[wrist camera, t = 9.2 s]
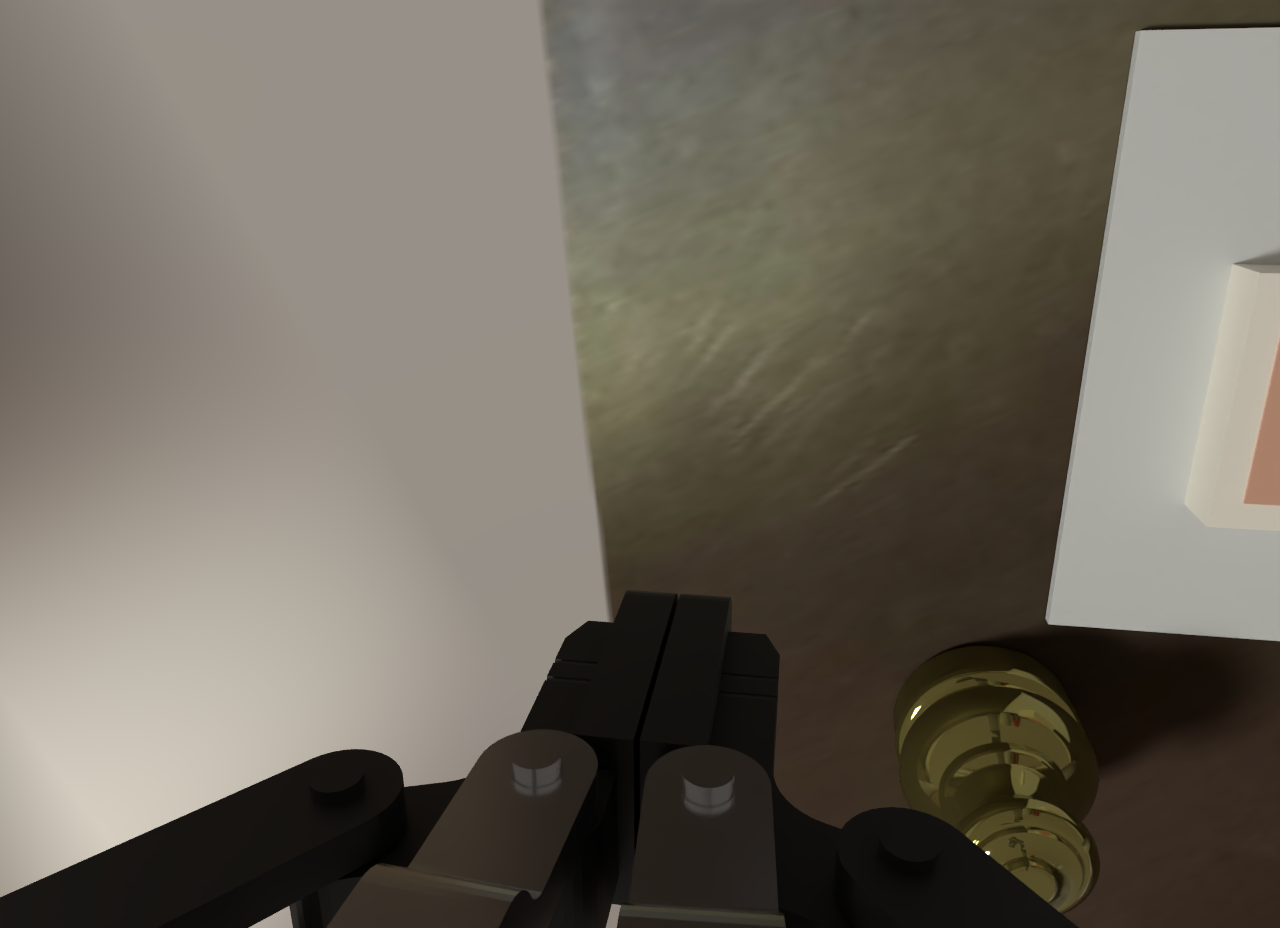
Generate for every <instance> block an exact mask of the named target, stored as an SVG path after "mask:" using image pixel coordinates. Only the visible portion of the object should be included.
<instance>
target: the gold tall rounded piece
mask: <svg viewBox="0 0 1280 928" xmlns="http://www.w3.org/2000/svg"><path fill="white" fill-rule="evenodd" d="M894 728H895V749H896V755H897V759H898V762H899V777H900V783H901V788H902V792H903V795H904V797H905V800H906V802H907V803H908V805H909V807H910V809H912V810H917V811H921V812H924V813H927V814H930V815H932V816H935V817H937V818H940V819H941V820H943V821H945V822H947V823H949V824H950V825H952V826H953V827H955V828H956V829H957V830H959V831H960V832H961V833H963V834H964V835H965V836H966V837H967V838H969V839H970V840H971V841H972V842H974V843H975V844H976V845H977V846H979V847H980V848H981V849H982V850H984V851H985V852H986V853H987V854H988V855H990V856H991V857H992V858H993V859H995V860H996V861H997V862H998V863H1000V864H1001V865H1002V866H1003V867H1004V868H1006V869H1007V870H1008V871H1009V872H1011V873H1012V874H1013V875H1014V876H1016V877H1017V878H1018V879H1019V880H1020V881H1022V882H1023V883H1024V884H1025V885H1027V886H1028V887H1029V888H1030V889H1032V890H1033V891H1034V892H1035V893H1036V894H1038V895H1039V896H1040V897H1041V898H1043V899H1044V900H1045V901H1046V902H1048V903H1049V904H1050V905H1051V906H1053V907H1054V908H1055V909H1056V910H1057V911H1059V912H1060V913H1061V914H1065V913H1067V912H1069V911H1070V910H1072V909H1074V908H1075V907H1077V906H1078V905H1079V904H1081V903H1082V902H1083V901H1084V900H1085V899H1086V898H1087V897H1088V896H1089V894H1090V893H1091V892H1092V890H1093V888H1094V887H1095V885H1096V882H1097V880H1098V876H1099V871H1100V861H1099V854H1098V850H1097V846H1096V843H1095V841H1094V839H1093V837H1092V835H1091V833H1090V832H1089V831H1088V829H1087V828H1086V827H1085V825H1084V824H1083V823H1082V821H1083V820H1084V819H1085V817H1086V816H1087V814H1088V813H1089V811H1090V809H1091V808H1092V805H1093V803H1094V801H1095V798H1096V795H1097V791H1098V786H1099V766H1098V761H1097V757H1096V754H1095V751H1094V748H1093V746H1092V744H1091V742H1090V740H1089V738H1088V737H1087V735H1086V734H1085V732H1084V729H1083V726H1082V722H1081V720H1080V717H1079V715H1078V713H1077V711H1076V710H1075V708H1074V707H1073V705H1072V704H1071V702H1070V700H1069V698H1068V696H1067V693H1066V691H1065V689H1064V687H1063V686H1062V684H1061V683H1060V681H1059V680H1058V679H1057V678H1056V676H1055V675H1054V674H1053V673H1052V672H1051V671H1050V670H1049V669H1047V668H1046V667H1045V666H1044V665H1042V664H1041V663H1039V662H1038V661H1036V660H1035V659H1033V658H1031V657H1029V656H1027V655H1025V654H1022V653H1020V652H1017V651H1014V650H1011V649H1007V648H1002V647H995V646H969V647H963V648H958V649H954V650H951V651H948V652H945V653H942V654H940V655H938V656H936V657H934V658H932V659H930V660H929V661H927V662H925V663H924V664H923V665H921V666H920V667H919V668H918V669H917V670H915V671H914V672H913V673H912V675H911V676H910V677H909V678H908V679H907V681H906V682H905V683H904V685H903V686H902V688H901V690H900V692H899V694H898V697H897V700H896V703H895V708H894Z"/></svg>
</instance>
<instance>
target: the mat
mask: <svg viewBox="0 0 1280 928" xmlns="http://www.w3.org/2000/svg"><path fill="white" fill-rule="evenodd" d="M1232 264H1268V265H1280V27H1276V28H1230V29H1184V30H1140V31H1137V32H1136V33H1135V40H1134V46H1133V53H1132V59H1131V66H1130V72H1129V79H1128V85H1127V92H1126V98H1125V105H1124V111H1123V118H1122V124H1121V131H1120V137H1119V144H1118V150H1117V157H1116V163H1115V170H1114V176H1113V183H1112V189H1111V196H1110V202H1109V209H1108V215H1107V222H1106V228H1105V235H1104V241H1103V248H1102V254H1101V261H1100V267H1099V274H1098V280H1097V287H1096V293H1095V300H1094V306H1093V313H1092V319H1091V326H1090V332H1089V339H1088V345H1087V352H1086V358H1085V365H1084V371H1083V378H1082V384H1081V391H1080V397H1079V404H1078V410H1077V417H1076V423H1075V429H1074V436H1073V442H1072V449H1071V455H1070V462H1069V468H1068V475H1067V481H1066V488H1065V494H1064V501H1063V507H1062V514H1061V520H1060V527H1059V533H1058V540H1057V546H1056V553H1055V559H1054V566H1053V572H1052V579H1051V585H1050V592H1049V598H1048V605H1047V611H1046V620H1047V623H1048V624H1052V625H1066V626H1080V627H1094V628H1107V629H1121V630H1135V631H1148V632H1162V633H1176V634H1189V635H1203V636H1217V637H1231V638H1244V639H1258V640H1272V641H1280V531H1269V530H1251V529H1233V528H1215V527H1207V526H1206V525H1205V524H1204V523H1203V522H1202V521H1201V520H1200V519H1199V518H1198V517H1197V516H1196V515H1195V514H1194V513H1193V512H1192V511H1191V510H1190V509H1189V508H1188V507H1187V506H1186V505H1185V499H1186V494H1187V489H1188V484H1189V479H1190V474H1191V469H1192V464H1193V459H1194V454H1195V449H1196V444H1197V439H1198V434H1199V429H1200V424H1201V419H1202V414H1203V409H1204V404H1205V399H1206V394H1207V389H1208V384H1209V379H1210V374H1211V369H1212V364H1213V359H1214V354H1215V349H1216V344H1217V339H1218V334H1219V329H1220V324H1221V319H1222V314H1223V309H1224V304H1225V299H1226V294H1227V289H1228V284H1229V279H1230V274H1231V269H1232Z"/></svg>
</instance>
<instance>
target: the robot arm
mask: <svg viewBox="0 0 1280 928" xmlns="http://www.w3.org/2000/svg"><path fill="white" fill-rule="evenodd" d="M731 619H732V600H731V597H719V596H706V595H692V594H681V595H680V597H679V599H678V594H676V593H662V592H648V591H635V590H627V591H626V593H625V595H624V598H623V600H622V603H621V606H620V608H619V611H618V613H617V616H616V618H615V621H614V623H611V622H598V621H597V622H596V621H588V622H586V623H585V624H583V625H582V626H581V627H579V628H578V629H577V630H575V631H574V632H573V633H571V634H570V635H569V636H567V637H566V638H565V640H564V642H563V644H562V646H561V648H560V650H559V652H558V655H557V656H556V659H555V663H553V665H552V667H551V669H550V671H549V673H548V675H547V680H545V682H544V684H543V686H542V688H541V690H540V692H539V694H538V696H537V698H536V700H535V703H534V705H533V707H532V709H531V711H530V713H529V715H528V717H527V719H526V721H525V723H524V725H523V728H522V730H521V732H519V733H515V734H512V735H509V736H506V737H504V738H502V739H500V740H498V741H497V742H495V743H493V744H492V745H491V746H489V747H488V748H487V749H486V750H485V751H484V752H483V753H482V755H481V756H480V757H479V759H478V760H477V762H476V763H475V765H474V767H473V768H472V769H471V771H470V773H469V774H468V776H467V777H466V778H463V779H460V780H456V781H449V782H443V783H434V784H426V785H418V786H409V787H404V782H403V773H402V771H401V768H400V766H399V765H398V764H397V763H396V762H395V761H394V760H393V759H392V758H390V757H389V756H387V755H384V754H382V753H379V752H376V751H370V750H362V749H360V750H359V749H351V750H341V751H336V752H331V753H327V754H324V755H321V756H318V757H316V758H313V759H310V760H308V761H306V762H304V763H302V764H299V765H297V766H295V767H292V768H290V769H288V770H286V771H283V772H281V773H279V774H277V775H274V776H272V777H270V778H268V779H266V780H263V781H261V782H259V783H256V784H254V785H252V786H250V787H248V788H245V789H243V790H241V791H238V792H236V793H234V794H232V795H229V796H227V797H225V798H223V799H220V800H218V801H216V802H214V803H211V804H209V805H207V806H205V807H203V808H200V809H198V810H196V811H193V812H191V813H189V814H187V815H185V816H182V817H180V818H178V819H176V820H173V821H171V822H169V823H167V824H164V825H162V826H160V827H158V828H155V829H153V830H151V831H149V832H146V833H144V834H142V835H140V836H137V837H135V838H133V839H131V840H128V841H126V842H124V843H122V844H120V845H117V846H115V847H113V848H110V849H108V850H106V851H104V852H102V853H99V854H97V855H95V856H93V857H90V858H88V859H86V860H83V861H81V862H79V863H77V864H74V865H72V866H70V867H68V868H65V869H63V870H61V871H59V872H57V873H54V874H52V875H50V876H47V877H45V878H43V879H41V880H39V881H36V882H34V883H32V884H29V885H27V886H25V887H23V888H20V889H19V890H16V891H14V892H12V893H9V894H7V895H5V896H3V897H0V928H248V927H250V926H252V925H254V924H256V923H258V922H260V921H261V920H263V919H265V918H267V917H269V916H271V915H273V914H274V913H276V912H278V911H280V910H282V909H284V908H286V907H287V906H290V911H291V918H292V924H293V928H605V927H606V924H607V920H608V916H609V912H610V908H611V904H618V905H621V908H620V912H619V918H618V924H617V928H1078V927H1077V926H1076V925H1075V924H1073V923H1072V922H1071V921H1070V920H1069V919H1067V918H1066V917H1065V916H1064V915H1062V914H1061V913H1060V912H1059V911H1057V910H1056V909H1055V908H1054V907H1053V906H1051V905H1050V904H1049V903H1048V902H1046V901H1045V900H1044V899H1043V898H1041V897H1040V896H1039V895H1038V894H1036V893H1035V892H1034V891H1033V890H1032V889H1030V888H1029V887H1028V886H1027V885H1025V884H1024V883H1023V882H1022V881H1020V880H1019V879H1018V878H1017V877H1016V876H1014V875H1013V874H1012V873H1011V872H1009V871H1008V870H1007V869H1006V868H1004V867H1003V866H1002V865H1001V864H1000V863H998V862H997V861H996V860H995V859H993V858H992V857H991V856H990V855H988V854H987V853H986V852H985V851H984V850H982V849H981V848H980V847H979V846H977V845H976V844H975V843H974V842H972V841H971V840H970V839H969V838H967V837H966V836H965V835H964V834H963V833H961V832H960V831H959V830H957V829H956V828H955V827H953V826H952V825H950V824H949V823H947V822H945V821H943V820H941V819H940V818H937V817H935V816H932V815H930V814H927V813H924V812H921V811H917V810H912V809H907V808H896V807H888V808H877V809H872V810H868V811H865V812H862V813H860V814H858V815H856V816H855V817H853V818H852V819H850V820H849V821H848V822H847V823H846V824H845V825H844V827H843V828H842V829H839V828H837V827H834V826H831V825H828V824H825V823H823V822H820V821H818V820H815V819H813V818H811V817H809V816H808V815H806V814H804V813H802V812H801V811H799V810H798V809H797V808H795V807H794V806H793V805H792V804H790V803H789V802H788V801H787V800H786V799H785V798H784V796H783V795H782V794H781V792H780V791H779V789H778V787H777V785H776V783H775V780H774V759H775V741H776V721H777V701H778V681H779V660H780V655H779V653H778V652H777V650H776V649H775V647H774V646H773V644H772V643H771V641H770V640H769V639H768V637H767V636H766V634H753V633H740V632H731Z"/></svg>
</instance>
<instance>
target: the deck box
mask: <svg viewBox="0 0 1280 928" xmlns="http://www.w3.org/2000/svg"><path fill="white" fill-rule="evenodd" d="M1185 505H1186V506H1187V507H1188V508H1189V509H1190V510H1191V511H1192V512H1193V513H1194V514H1195V515H1196V516H1197V517H1198V518H1199V519H1200V520H1201V521H1202V522H1203V523H1204V524H1205V525H1206V526H1207V527H1215V528H1233V529H1251V530H1269V531H1280V265H1268V264H1232V269H1231V274H1230V279H1229V284H1228V289H1227V294H1226V299H1225V304H1224V309H1223V314H1222V319H1221V324H1220V329H1219V334H1218V339H1217V344H1216V349H1215V354H1214V359H1213V364H1212V369H1211V374H1210V379H1209V384H1208V389H1207V394H1206V399H1205V404H1204V409H1203V414H1202V419H1201V424H1200V429H1199V434H1198V439H1197V444H1196V449H1195V454H1194V459H1193V464H1192V469H1191V474H1190V479H1189V484H1188V489H1187V494H1186V499H1185Z"/></svg>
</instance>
